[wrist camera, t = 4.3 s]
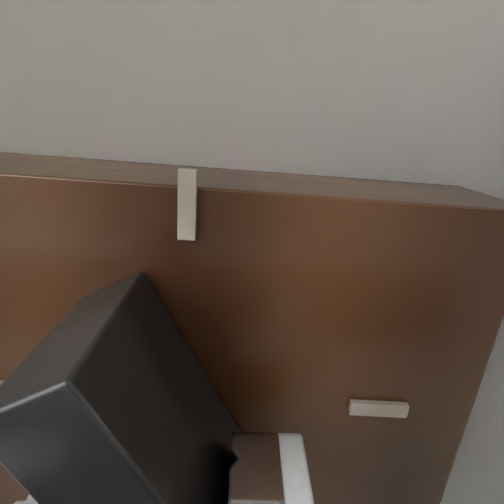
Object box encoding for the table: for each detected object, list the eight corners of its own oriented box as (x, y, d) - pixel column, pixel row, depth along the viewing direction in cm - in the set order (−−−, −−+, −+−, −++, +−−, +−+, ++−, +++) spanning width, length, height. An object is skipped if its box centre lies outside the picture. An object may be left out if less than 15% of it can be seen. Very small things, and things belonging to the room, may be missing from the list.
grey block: (78, 298, 8) (-55, 441, 4) (144, 269, 8) (56, 394, 4) (216, 497, 10) (198, 703, 6) (270, 478, 10) (283, 679, 6)
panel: (-2, 448, 13) (-74, 543, 10) (-65, 133, 10) (-203, 140, 7) (386, 467, 14) (425, 563, 11) (463, 173, 10) (551, 195, 7)
